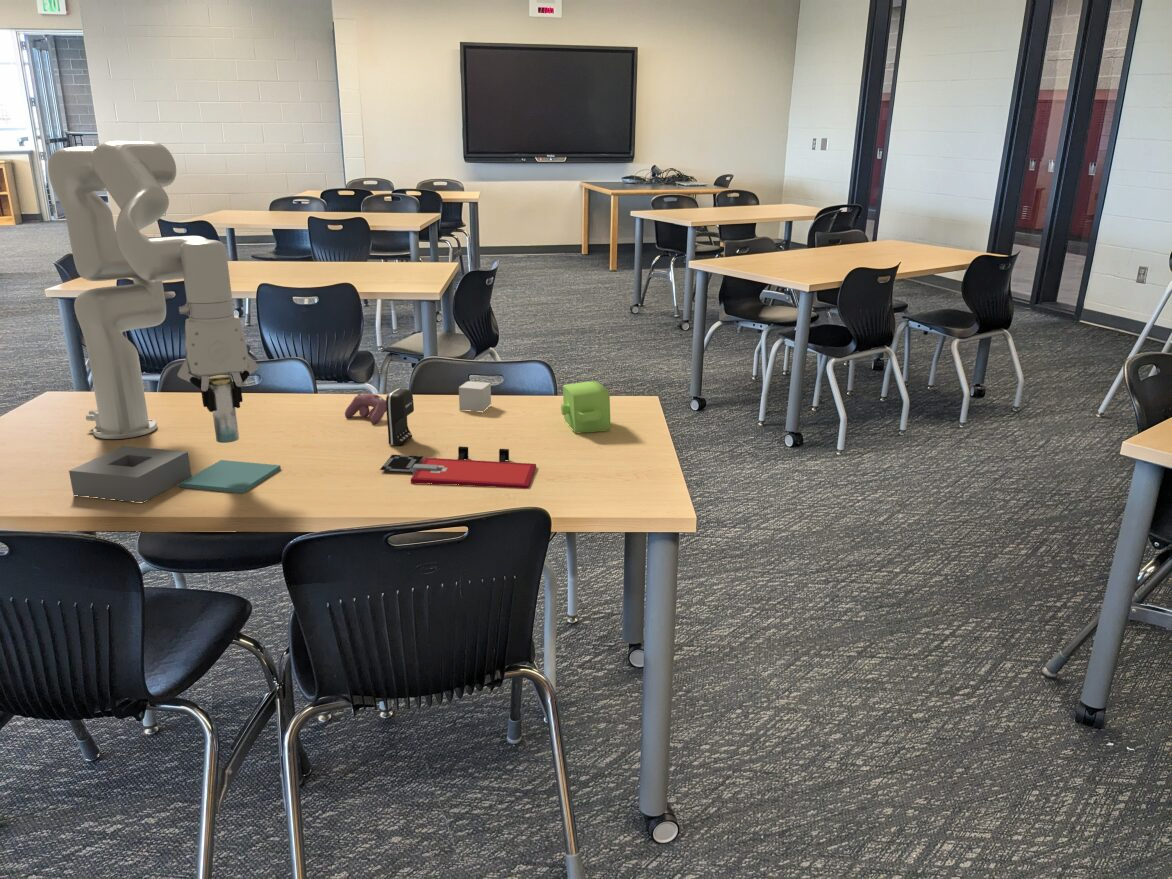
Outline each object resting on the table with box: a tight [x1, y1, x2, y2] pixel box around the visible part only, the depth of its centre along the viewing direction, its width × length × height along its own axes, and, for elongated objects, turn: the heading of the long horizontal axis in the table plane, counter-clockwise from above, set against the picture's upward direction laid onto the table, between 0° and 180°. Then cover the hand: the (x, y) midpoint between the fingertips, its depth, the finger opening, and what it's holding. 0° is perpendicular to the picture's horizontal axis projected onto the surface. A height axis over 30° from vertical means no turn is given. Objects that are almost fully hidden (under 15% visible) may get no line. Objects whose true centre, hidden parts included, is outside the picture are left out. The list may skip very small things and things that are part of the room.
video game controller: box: [344, 392, 387, 425], centre depth 203 cm, size 10×5×7 cm, turn 58°
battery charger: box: [385, 388, 415, 446], centre depth 186 cm, size 7×4×11 cm, turn 168°
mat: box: [179, 459, 282, 494], centre depth 166 cm, size 13×13×1 cm
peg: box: [208, 374, 240, 444], centre depth 162 cm, size 4×4×12 cm
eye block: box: [68, 445, 192, 503], centre depth 161 cm, size 14×14×5 cm
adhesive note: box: [458, 380, 492, 412], centre depth 212 cm, size 6×6×6 cm
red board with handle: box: [379, 445, 537, 489], centre depth 172 cm, size 30×3×15 cm
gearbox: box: [560, 380, 612, 434], centre depth 200 cm, size 18×10×10 cm, turn 15°
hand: (223, 407), depth 162 cm, fingers closed on peg, 4 cm apart
